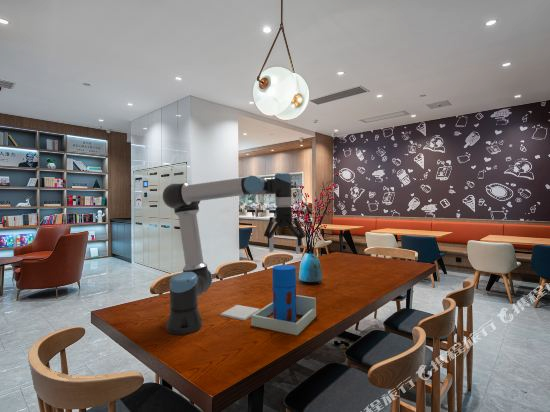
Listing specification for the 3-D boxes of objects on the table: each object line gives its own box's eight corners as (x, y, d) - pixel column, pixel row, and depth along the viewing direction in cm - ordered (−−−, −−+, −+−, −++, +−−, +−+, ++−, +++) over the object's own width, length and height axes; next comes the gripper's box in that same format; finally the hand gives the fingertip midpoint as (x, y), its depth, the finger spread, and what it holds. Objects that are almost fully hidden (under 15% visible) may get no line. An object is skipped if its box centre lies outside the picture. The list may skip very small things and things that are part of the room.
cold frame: (297, 335, 123) (297, 313, 123) (251, 325, 133) (251, 305, 133) (316, 316, 143) (315, 297, 142) (274, 309, 153) (274, 291, 153)
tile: (244, 320, 139) (244, 318, 139) (220, 315, 145) (220, 313, 145) (259, 310, 151) (259, 308, 151) (237, 306, 158) (237, 304, 158)
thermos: (298, 317, 142) (297, 265, 141) (293, 326, 131) (293, 270, 131) (276, 315, 145) (275, 264, 144) (270, 324, 134) (269, 269, 134)
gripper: (311, 206, 135) (312, 252, 135) (264, 206, 146) (265, 249, 147) (305, 206, 128) (306, 255, 128) (256, 207, 140) (257, 252, 140)
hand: (284, 252), depth 137 cm, fingers open, 13 cm apart
